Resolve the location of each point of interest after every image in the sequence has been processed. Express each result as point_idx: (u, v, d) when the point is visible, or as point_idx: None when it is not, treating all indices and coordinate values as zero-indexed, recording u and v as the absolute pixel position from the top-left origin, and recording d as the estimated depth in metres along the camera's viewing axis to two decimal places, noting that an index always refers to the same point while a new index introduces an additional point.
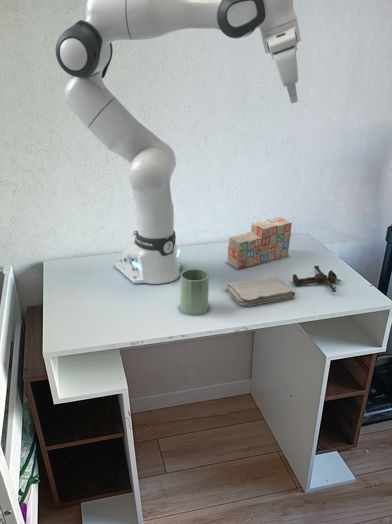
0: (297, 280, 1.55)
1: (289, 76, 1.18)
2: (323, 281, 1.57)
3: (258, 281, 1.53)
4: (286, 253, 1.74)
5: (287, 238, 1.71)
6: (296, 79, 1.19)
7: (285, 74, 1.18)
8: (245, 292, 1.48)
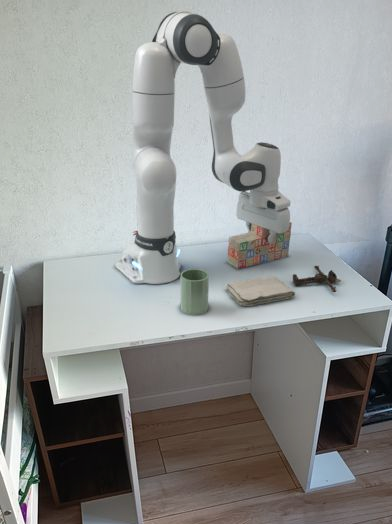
0: (297, 280, 1.55)
1: (285, 227, 1.59)
2: (323, 281, 1.57)
3: (258, 281, 1.53)
4: (286, 253, 1.74)
5: (287, 238, 1.71)
6: (287, 229, 1.61)
7: (284, 226, 1.58)
8: (245, 292, 1.48)
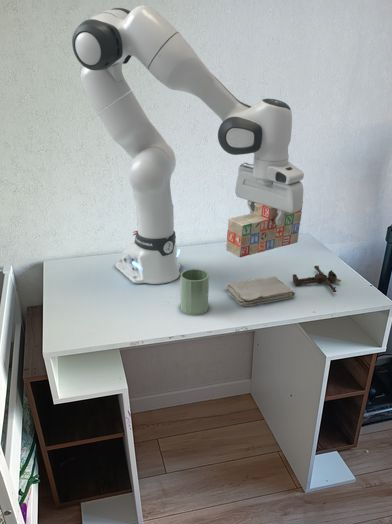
0: (297, 280, 1.55)
1: (298, 205, 1.30)
2: (323, 281, 1.57)
3: (258, 281, 1.53)
4: (296, 238, 1.45)
5: (297, 220, 1.42)
6: (300, 208, 1.31)
7: (296, 203, 1.29)
8: (245, 292, 1.48)
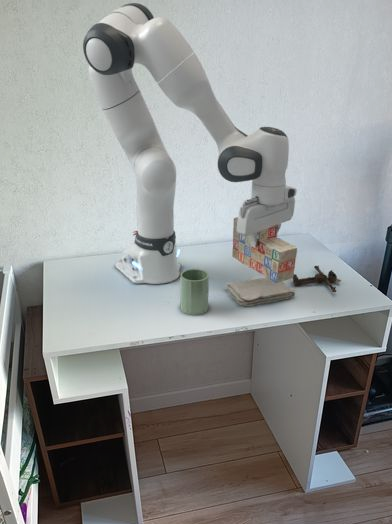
0: (297, 280, 1.55)
1: None
2: (323, 281, 1.57)
3: (258, 281, 1.53)
4: None
5: None
6: None
7: None
8: (246, 292, 1.48)
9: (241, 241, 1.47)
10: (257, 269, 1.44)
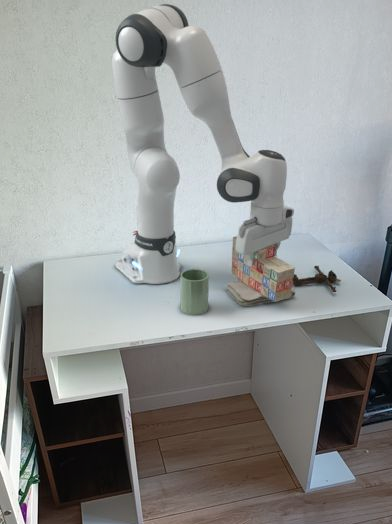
0: (297, 280, 1.55)
1: None
2: (323, 281, 1.57)
3: None
4: None
5: None
6: None
7: None
8: (246, 292, 1.48)
9: (239, 259, 1.50)
10: (255, 287, 1.47)
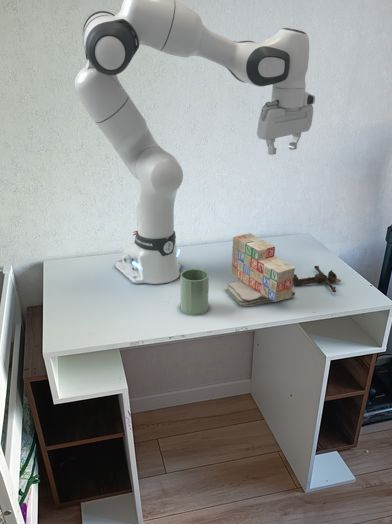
0: (297, 280, 1.55)
1: None
2: (323, 281, 1.57)
3: None
4: None
5: None
6: None
7: None
8: (246, 292, 1.48)
9: (240, 259, 1.50)
10: (256, 287, 1.47)
